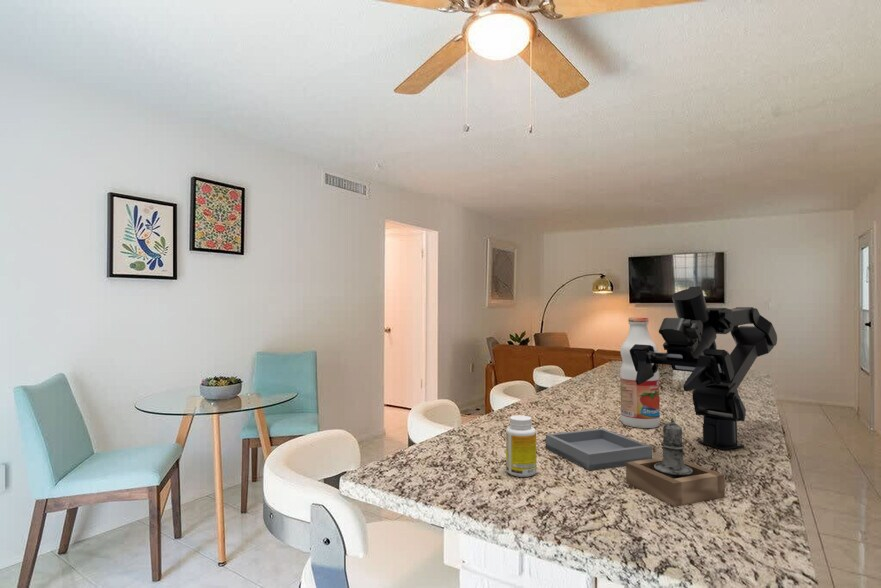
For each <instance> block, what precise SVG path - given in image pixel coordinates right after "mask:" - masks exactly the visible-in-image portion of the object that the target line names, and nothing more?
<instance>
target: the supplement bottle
mask: <svg viewBox="0 0 881 588" xmlns="http://www.w3.org/2000/svg"><path fill="white" fill-rule="evenodd" d="M532 422H533V421H532V417H531V416H528V415H523V414H521V415H520V414H519V415H517V414H516V415H511V416H510V417H509V426H508V427H507V428H506V430H505V457H506V458H505V459H506V460H505V461H506V462H505V463H506V471H507V473H508V474H509V475H511V476H513V477H519V478H528V477H532V476H534V475H535V474H536V473H537V430H536V429H535V427H533V425H532V424H533V423H532Z"/></svg>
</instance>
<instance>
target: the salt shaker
mask: <svg viewBox="0 0 881 588" xmlns="http://www.w3.org/2000/svg"><path fill="white" fill-rule="evenodd" d="M660 446H661V447H662V457H663V459H662V462H661V463H657V464H655V465H654V468H655V469H656V471H657V472H659V473H661V474H664V475H666V476H668V477H671V478H673V479H676V478H682V477H688V476H691V474H692V473H693V470H692V469H691V468H690V467H688V466H686V465H685V464H684V461H683V460H684V454H683V453H684V449H685V447H686V446H685V445H684V444H683V430H682V427H681V426H680V425H679V424H678V423H676V422H675V419H674V418H673V417H671V418H670V419H669V422H667V423H665V424H664V425H663V426H662V442H661V443H660Z"/></svg>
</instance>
